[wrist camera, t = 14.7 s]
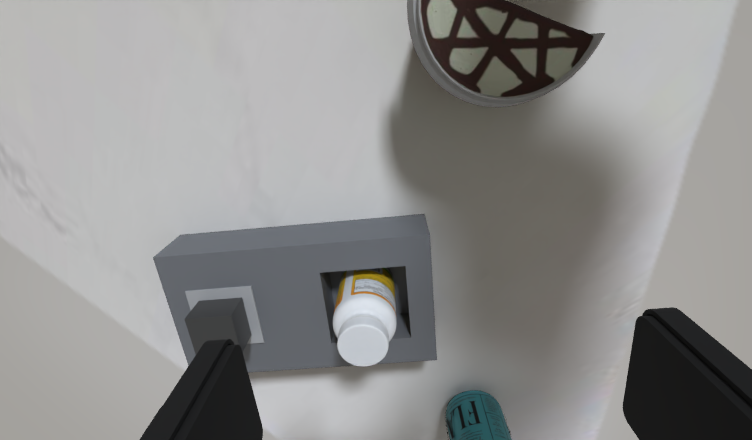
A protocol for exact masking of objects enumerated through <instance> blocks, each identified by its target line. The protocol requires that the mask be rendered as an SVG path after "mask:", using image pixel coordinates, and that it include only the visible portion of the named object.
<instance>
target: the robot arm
mask: <svg viewBox="0 0 752 440" xmlns="http://www.w3.org/2000/svg"><path fill="white" fill-rule="evenodd" d="M623 412H624V415H625V418H626V420H627V422H628V424H629V425H630V427H631V428H632V430H633V431H634V433H635V434H636V435H637V437H638V438H639V440H752V369H750V368H749V367H748V366H747V365H746V364H744V363H743V362H742V361H741V360H739V359H738V358H737V357H736V356H735V355H733V354H732V353H731V352H730V351H729V350H727V349H726V348H725V347H724V346H722V345H721V344H720V343H719V342H718V341H717V340H715V339H714V338H713V337H712V336H710V335H709V334H708V333H707V332H705V331H704V330H703V329H702V328H701V327H700V326H698V325H697V324H696V323H695V322H693V321H692V320H691V319H690V318H689V317H687V316H686V315H685V314H684V313H683V312H681V311H680V310H678V309H677V308H659V309H648V310H646V311H645V312H644V313H643V315H642V316H640V317H638V318H637V320H636V324H635V330H634V337H633V343H632V350H631V356H630V363H629V369H628V375H627V382H626V388H625V395H624V401H623ZM262 436H263V429H262V424H261V420H260V416H259V412H258V409H257V405H256V401H255V397H254V394H253V390H252V386H251V382H250V379H249V375H248V371H247V367H246V364H245V360H244V356H243V352H242V349H241V347H240V345H234V342H233V341H232V340H231V339H222V340H208V341H206V342H205V343H204V344H203V345H202V347H201V348H200V350H199V351H198V353H197V354H196V356H195V357H194V359H193V360H192V362H191V363H190V365H189V366H188V368H187V370H186V371H185V373H184V374H183V376H182V377H181V379H180V380H179V382H178V383H177V385H176V386H175V388H174V390H173V391H172V393H171V394H170V396H169V397H168V399H167V400H166V402H165V403H164V405H163V406H162V407H161V408H160V409H159V411H158V413H157V414H156V416H155V417H154V419H153V420H152V422H151V423H150V425H149V426H148V428H147V429H146V431H145V432H144V434H143V435H142V437H141V439H140V440H262Z"/></svg>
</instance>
